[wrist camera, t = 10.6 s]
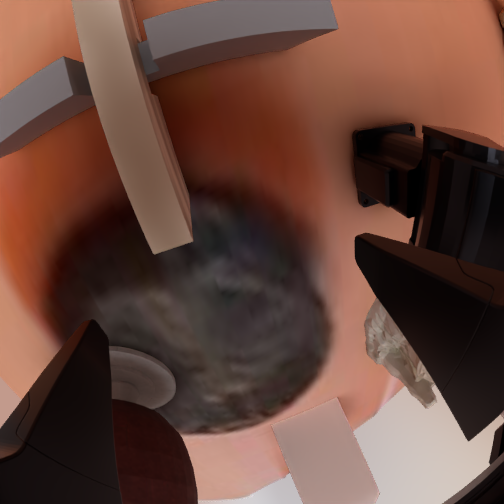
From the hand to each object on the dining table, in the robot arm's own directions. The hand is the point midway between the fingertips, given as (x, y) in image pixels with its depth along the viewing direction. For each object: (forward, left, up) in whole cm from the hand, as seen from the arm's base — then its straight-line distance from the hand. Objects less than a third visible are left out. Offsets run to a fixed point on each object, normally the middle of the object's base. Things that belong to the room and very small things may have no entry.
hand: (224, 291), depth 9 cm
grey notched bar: (+2, -9, -12) cm, 15 cm away
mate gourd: (+15, +17, -12) cm, 26 cm away
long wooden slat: (+2, -9, -12) cm, 15 cm away
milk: (-4, +44, -12) cm, 46 cm away
